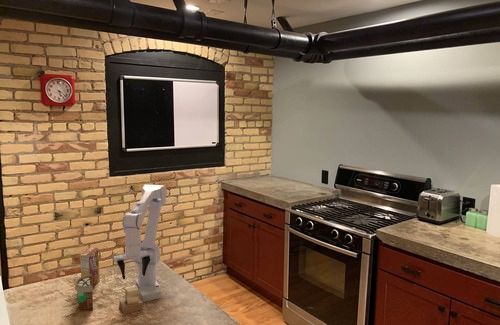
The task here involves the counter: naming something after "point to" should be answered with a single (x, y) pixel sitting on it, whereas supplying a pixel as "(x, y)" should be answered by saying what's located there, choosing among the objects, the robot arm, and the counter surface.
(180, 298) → the counter surface
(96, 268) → the candy box
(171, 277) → the counter surface
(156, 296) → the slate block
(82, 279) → the food container
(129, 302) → the maple cube
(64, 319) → the counter surface
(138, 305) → the walnut block
